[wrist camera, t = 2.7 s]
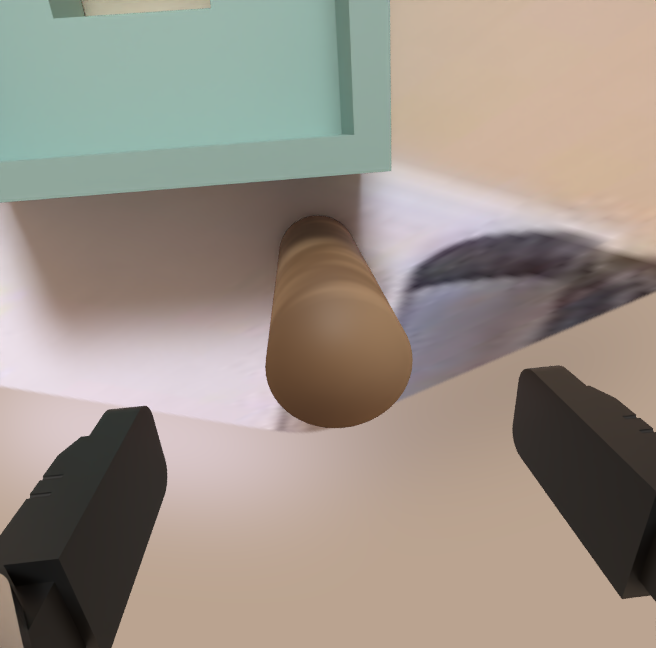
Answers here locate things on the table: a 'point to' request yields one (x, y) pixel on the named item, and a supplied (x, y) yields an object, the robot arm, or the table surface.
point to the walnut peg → (332, 331)
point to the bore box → (190, 95)
